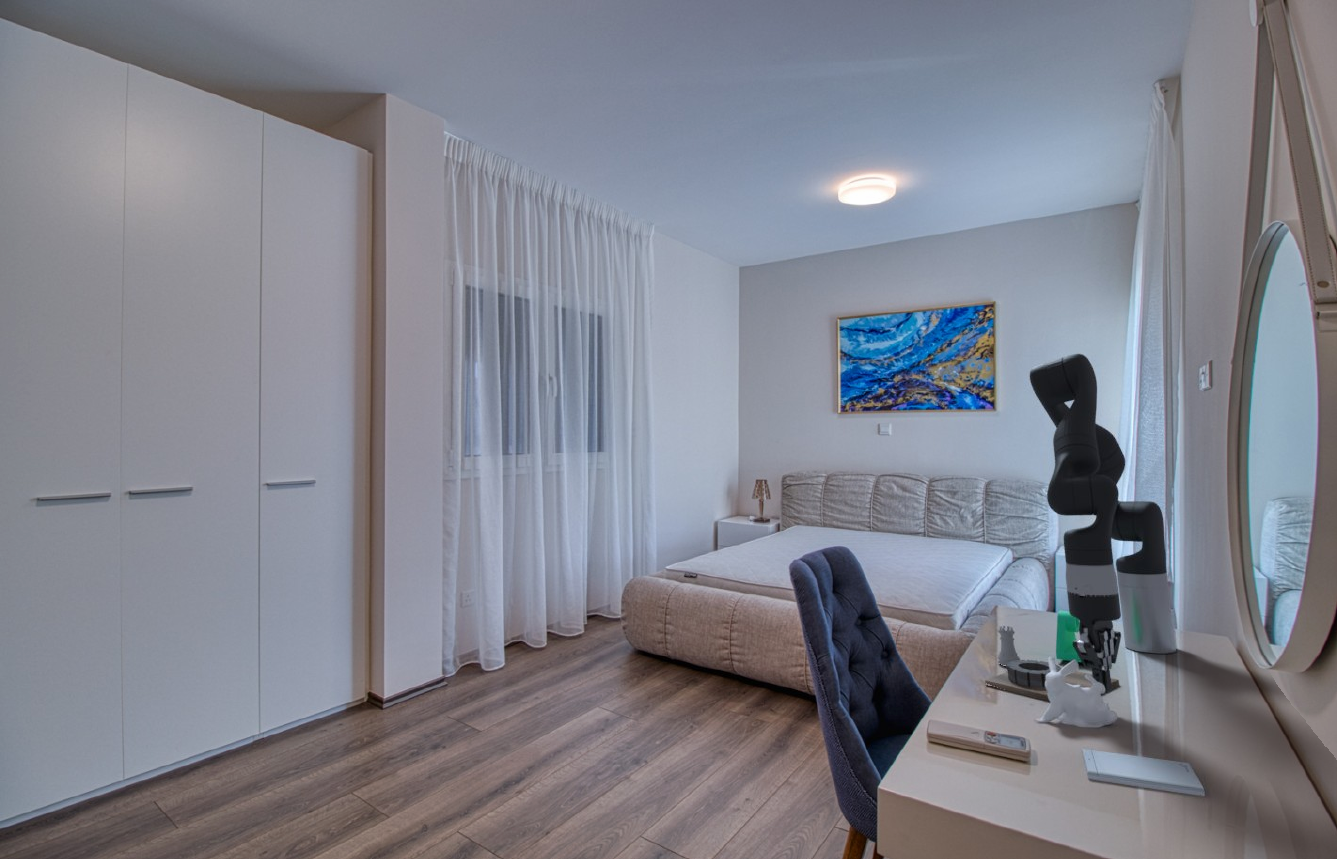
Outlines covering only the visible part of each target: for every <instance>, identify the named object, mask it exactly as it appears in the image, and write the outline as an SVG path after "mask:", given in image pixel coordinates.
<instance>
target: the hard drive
mask: <svg viewBox="0 0 1337 859" xmlns="http://www.w3.org/2000/svg"><path fill="white" fill-rule="evenodd" d="M1081 755H1082V759H1083V763H1084V768H1085V772H1086V776H1087V779H1088V780H1094V781H1099V782H1108V783H1112V784H1113V783H1114V784H1119V785H1126V786H1132V787H1139V788H1146V789H1152V790H1159V791H1165V792H1173V793H1179V794H1185V795H1191V796H1198V795H1199V796H1198V797H1204V796H1205V797H1206V795H1205V790H1204V789H1205V788H1204V787H1203V785H1202V783H1201V781H1200V779H1199V778H1198V776H1197V774H1196V772H1195V771H1194V770H1193V768H1192V766H1191V765H1190V763H1188V762H1182V761H1176V760H1169V759H1161V758H1154V757H1145V756H1140V755H1131V754H1124V753H1117V752H1111V751H1102V750H1095V749H1087V748H1086V749H1085V748H1081ZM1200 795H1201V796H1200Z"/></svg>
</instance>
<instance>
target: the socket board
mask: <svg viewBox="0 0 1337 859" xmlns="http://www.w3.org/2000/svg"><path fill="white" fill-rule="evenodd" d="M1055 666H1056V672H1059V671H1060V670H1061V669H1062V668H1063V667H1060V666H1059V665H1057V664H1055ZM1006 668H1007V671H1006V672H1004V673H1001V674H998V675H995V676H993V677H990V678H987V679H985V680H984V681H985V684H986V683H987V684H990V685H992V686H995V687H998V688H1001V689H1000V690H1002V689H1005V690H1004V691H1006V690H1007V691H1006V692H1009V693H1016V694H1018V693H1019V695H1022V696H1026V697H1030V698H1034V699H1039V700H1042V701H1046V702H1050V701H1049V699H1048V691H1047V690H1046V687H1045V681H1046V674H1048V673H1050V668H1049V664H1048V661H1043V660H1036V659H1035V660H1034V659H1020V660H1015V661H1011V662H1008V663H1007V667H1006ZM1086 674H1087V675H1091V676H1092V673H1088V672H1082V671H1078V670H1076V671H1075V672H1073V673H1070V674H1068V675H1066V676H1065V677H1064V681H1065V683H1068V684H1071V685H1080V686H1081V687H1082V688H1090V687H1092V685H1093V683H1092V682H1091V681H1089V680H1088V679H1086V678H1085V675H1086ZM1092 677H1093V676H1092ZM1111 686H1112V689H1115V688H1116V687H1118V686H1120V680H1119V679H1117V678H1112V677H1111ZM998 688H997V689H998ZM1102 694H1103V693H1101V694H1100V695H1102Z"/></svg>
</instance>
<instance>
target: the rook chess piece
mask: <svg viewBox="0 0 1337 859" xmlns="http://www.w3.org/2000/svg"><path fill="white" fill-rule="evenodd" d="M997 632H998V633H999V635H1000V637H999V640H1000V643H1001V646H1000V651H999V653H998V655H997V659H998V660H997V663H998V664H999V663H1000V664H1002V665H1006V666H1007V663H1008V662H1011V661H1015V660H1021V658H1020V655H1018V653H1017V651H1016V647H1015V644H1014V643H1015V642H1014V641H1015V638H1014V634H1015V633H1016V632H1015V630H1014V629H1013V626H1008V625H1006V626H1005V625H1002V626H1001V625H999V629H998V630H997ZM1000 664H999V665H1000Z"/></svg>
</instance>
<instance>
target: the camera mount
mask: <svg viewBox="0 0 1337 859" xmlns="http://www.w3.org/2000/svg"><path fill="white" fill-rule="evenodd" d="M1056 620H1057V621H1056V638H1055V639H1056V640H1055V641H1056V644H1055V645H1056V646H1055V656H1056V660H1062V661H1069V662H1071V661H1073V660H1074V659H1075V660H1076V661H1077V662H1078V663H1082V661H1081V660H1080V658H1079V656H1078V654H1077V652H1076V650H1075V649H1074V647H1073V641H1074V640H1076V641H1078V640H1077V637H1076V634H1075V633H1079V624H1080V620H1079V619H1078V618H1076V617H1073V616H1071V615H1070V613H1069V610H1068V611H1067V610H1061V609H1059V610H1058V612H1057V619H1056Z"/></svg>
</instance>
